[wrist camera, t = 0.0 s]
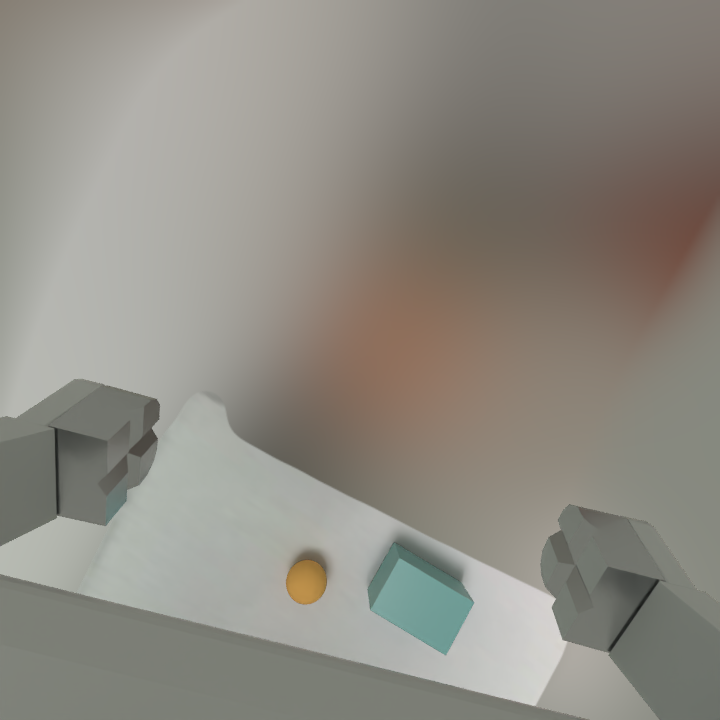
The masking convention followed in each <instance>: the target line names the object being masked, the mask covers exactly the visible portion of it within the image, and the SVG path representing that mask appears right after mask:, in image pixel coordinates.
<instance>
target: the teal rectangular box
mask: <svg viewBox="0 0 720 720" xmlns="http://www.w3.org/2000/svg"><path fill="white" fill-rule="evenodd" d="M368 596H369V604H370V610H371V611H373V612H374V613H376V614H378V615H379V616H381V617H383V618H384V619H386V620H388V621H389V622H391V623H393V624H394V625H396V626H398V627H399V628H401V629H403V630H404V631H406V632H408V633H409V634H411V635H413V636H414V637H416V638H418V639H419V640H421V641H423V642H424V643H426V644H428V645H429V646H431V647H433V648H434V649H436V650H438V651H439V652H441V653H443V654H444V655H446V654H447V652H448V650H449V649H450V647H451V645H452V643H453V641H454V639H455V637H456V636H457V634H458V632H459V630H460V628H461V626H462V624H463V623H464V621H465V619H466V617H467V615H468V613H469V611H470V610H471V608H472V606H473V604H474V601H473V600H472V598H471V597H470V595H469V594H468V592H467V591H466V589H465V587H464V586H463V584H462V583H461V582H460V581H458V580H456V579H455V578H453V577H451V576H450V575H448V574H446V573H445V572H443V571H441V570H440V569H438V568H436V567H435V566H433V565H431V564H429V563H428V562H426V561H424V560H423V559H421V558H419V557H418V556H416V555H414V554H413V553H411V552H409V551H408V550H406V549H404V548H403V547H401V546H399V545H398V544H396V543H393V545H392V547H391V548H390V550H389V552H388V554H387V556H386V557H385V559H384V561H383V563H382V564H381V566H380V568H379V570H378V572H377V573H376V575H375V577H374V579H373V580H372V582H371V584H370V586H369V587H368Z"/></svg>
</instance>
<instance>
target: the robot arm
mask: <svg viewBox="0 0 720 720" xmlns="http://www.w3.org/2000/svg"><path fill="white" fill-rule="evenodd" d="M159 410H160V404H159V402H158V401H157V399H155V398H151V397H147V396H144V395H140V394H136V393H133V392H129V391H125V390H122V389H118V388H115V387H111V386H105V385H103V384H100V383H96V382H92V381H88V380H84V379H75V380H73V381H71V382H70V383H68V384H67V385H66V386H64V387H63V388H61V389H59V390H58V391H56V392H55V393H53V394H52V395H50V396H49V397H47V398H46V399H44V400H43V401H41V402H40V403H38V404H37V405H35V406H34V407H32V408H31V409H29V410H28V411H26V412H25V413H23V414H21V415H20V416H18V417H17V418H11V417H7V416H6V417H2V418H0V546H2V545H3V544H5V543H7V542H9V541H12V540H14V539H16V538H18V537H20V536H22V535H23V534H26V533H28V532H30V531H32V530H34V529H36V528H38V527H40V526H42V525H44V524H46V523H48V522H50V521H52V520H54V519H56V518H57V516H62V517H66V518H71V519H75V520H80V521H85V522H89V523H94V524H98V525H103V526H106V525H107V524H108V522H109V521H110V520H111V519H112V518H113V516H114V515H115V514H116V513H117V512H118V510H119V509H120V508H121V507H122V506H123V504H124V503H125V502H126V499H127V490H128V489H130V488H133V487H135V486H138V485H140V483H141V482H142V481H143V480H144V478H145V477H146V476H147V474H148V472H149V470H150V468H151V466H152V464H153V461H154V458H155V454H156V450H157V441H158V440H157V439H158V438H157V437H156V435H155V433H154V432H153V430H152V426H153V425H154V424H155V423H156V422H157V421H158V420H159ZM558 522H559V525H560V529H561V531H559V532H557V533H555V534H554V535H552V536H550V537H549V538H548V540H547V542H546V544H545V546H544V548H543V551H542V557H541V575H542V578H543V581H544V585H545V587H546V588H547V589H548V590H549V591H550V593H551V594H552V595H553V596H554V597H555V598H556V600H555V602H554V604H553V606H552V610H553V613H554V616H555V619H556V621H557V624H558V627H559V630H560V633H561V636H562V639H563V640H565V641H568V642H572V643H575V644H579V645H583V646H586V647H590V648H594V649H597V650H601V651H604V652H608V653H609V656H610V658H611V659H612V660H613V661H614V663H615V664H616V665H617V666H618V668H619V669H620V670H621V672H622V673H623V674H624V675H625V677H626V678H627V679H628V680H629V682H630V683H631V684H632V685H633V687H634V688H635V689H636V690H637V692H638V693H639V694H640V695H641V697H642V698H643V699H644V701H645V702H646V703H647V704H648V706H649V707H650V708H651V709H652V711H653V712H654V713H655V714H656V716H657V717H658V718H659V719H660V720H720V603H719V602H718V601H716V600H715V599H714V598H712V597H711V596H710V595H709V594H707V593H706V592H703V591H699V590H697V589H696V588H695V586H694V585H693V583H692V582H691V580H690V579H689V577H688V576H687V574H686V573H685V571H684V570H683V569H682V567H681V566H680V564H679V563H678V561H677V560H676V558H675V557H674V555H673V554H672V553H671V551H670V550H669V548H668V547H667V545H666V544H665V542H664V541H663V539H662V538H661V536H660V535H659V534H658V532H657V531H656V529H655V528H654V526H652V525H651V524H649V523H648V522H646V521H642V520H637V519H632V518H628V517H624V516H617V515H613V514H608V513H604V512H600V511H596V510H591V509H587V508H583V507H578V506H574V505H570V504H569V505H568V506H567V507H566V508H565V509H564V510H563V511H562V513H561V515H560V517H559V519H558ZM0 720H588V719H584V718H580V717H576V716H572V715H568V714H564V713H560V712H556V711H551V710H548V709H544V708H540V707H536V706H532V705H528V704H524V703H520V702H516V701H511V700H507V699H503V698H499V697H495V696H491V695H487V694H483V693H479V692H475V691H471V690H467V689H463V688H459V687H455V686H451V685H447V684H443V683H439V682H435V681H431V680H427V679H423V678H418V677H414V676H410V675H406V674H402V673H398V672H394V671H390V670H386V669H382V668H378V667H374V666H370V665H366V664H362V663H358V662H354V661H350V660H346V659H342V658H338V657H334V656H330V655H326V654H322V653H318V652H313V651H309V650H305V649H301V648H297V647H293V646H289V645H285V644H281V643H277V642H273V641H269V640H265V639H261V638H257V637H253V636H249V635H245V634H240V633H236V632H232V631H228V630H224V629H220V628H216V627H212V626H208V625H204V624H200V623H196V622H191V621H187V620H183V619H179V618H175V617H171V616H167V615H163V614H159V613H155V612H151V611H146V610H142V609H138V608H134V607H130V606H126V605H122V604H118V603H114V602H110V601H106V600H102V599H97V598H93V597H89V596H85V595H81V594H77V593H73V592H69V591H65V590H61V589H57V588H53V587H49V586H45V585H41V584H37V583H33V582H29V581H25V580H21V579H17V578H13V577H9V576H5V575H1V574H0Z"/></svg>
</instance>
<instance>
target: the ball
mask: <svg viewBox="0 0 720 720" xmlns="http://www.w3.org/2000/svg"><path fill="white" fill-rule="evenodd" d="M326 584H327V578H326V574H325V571H324V569H323V568H322V567H321V565H319V564H318V563H317V562H315V561H312V560H303V561H300V562H298V563H296V564H295V565H294V566H293V567H292V568H291V569H290V571H289V573H288V575H287V579H286V587H287V591H288V593H289V595H290V597H291V598H292V599H293V600H294V601H296V602H297V603H300V604H311V603H314V602H316V601H317V600H318V599H319V598H320V597H321V596H322V595H323V593H324V591H325V589H326Z"/></svg>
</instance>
